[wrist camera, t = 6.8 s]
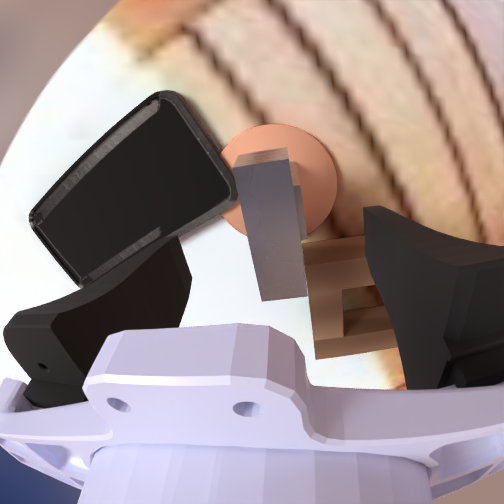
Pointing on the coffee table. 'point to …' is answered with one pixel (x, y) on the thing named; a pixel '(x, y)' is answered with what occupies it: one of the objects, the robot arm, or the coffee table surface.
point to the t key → (273, 221)
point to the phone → (134, 190)
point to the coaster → (299, 150)
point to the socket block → (330, 300)
